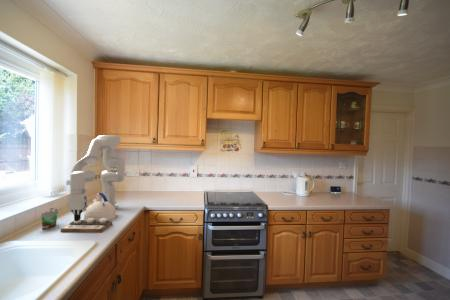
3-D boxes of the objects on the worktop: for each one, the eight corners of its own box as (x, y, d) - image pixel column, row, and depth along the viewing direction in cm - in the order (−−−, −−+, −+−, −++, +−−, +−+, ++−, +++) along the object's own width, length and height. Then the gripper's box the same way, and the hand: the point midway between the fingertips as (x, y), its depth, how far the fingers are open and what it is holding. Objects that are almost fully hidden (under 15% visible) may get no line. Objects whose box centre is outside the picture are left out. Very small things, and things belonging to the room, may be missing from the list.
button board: (75, 223, 141) (75, 219, 141) (112, 224, 142) (112, 219, 142) (60, 231, 128) (60, 226, 128) (101, 232, 129) (101, 227, 129)
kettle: (108, 211, 169) (109, 188, 168) (121, 217, 156) (121, 192, 155) (79, 217, 153) (79, 192, 153) (89, 225, 140) (90, 197, 140)
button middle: (89, 220, 139) (89, 217, 139) (95, 220, 139) (95, 217, 139) (85, 222, 135) (85, 219, 135) (91, 222, 135) (91, 220, 135)
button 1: (76, 221, 139) (76, 219, 139) (82, 221, 139) (82, 219, 139) (72, 223, 135) (72, 221, 135) (78, 223, 135) (78, 221, 135)
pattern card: (68, 225, 133) (68, 224, 133) (104, 225, 134) (104, 225, 134) (62, 228, 128) (62, 227, 128) (99, 229, 129) (99, 228, 129)
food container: (53, 229, 132) (53, 213, 132) (41, 230, 130) (41, 213, 130) (61, 222, 144) (62, 207, 144) (50, 223, 142) (51, 208, 142)
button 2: (101, 220, 140) (101, 217, 140) (107, 220, 140) (107, 218, 140) (98, 222, 136) (98, 220, 136) (104, 222, 136) (104, 220, 136)
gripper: (93, 190, 141) (92, 218, 141) (69, 190, 140) (69, 218, 141) (85, 193, 133) (85, 222, 133) (61, 192, 133) (61, 222, 133)
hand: (77, 220), depth 137 cm, fingers closed
